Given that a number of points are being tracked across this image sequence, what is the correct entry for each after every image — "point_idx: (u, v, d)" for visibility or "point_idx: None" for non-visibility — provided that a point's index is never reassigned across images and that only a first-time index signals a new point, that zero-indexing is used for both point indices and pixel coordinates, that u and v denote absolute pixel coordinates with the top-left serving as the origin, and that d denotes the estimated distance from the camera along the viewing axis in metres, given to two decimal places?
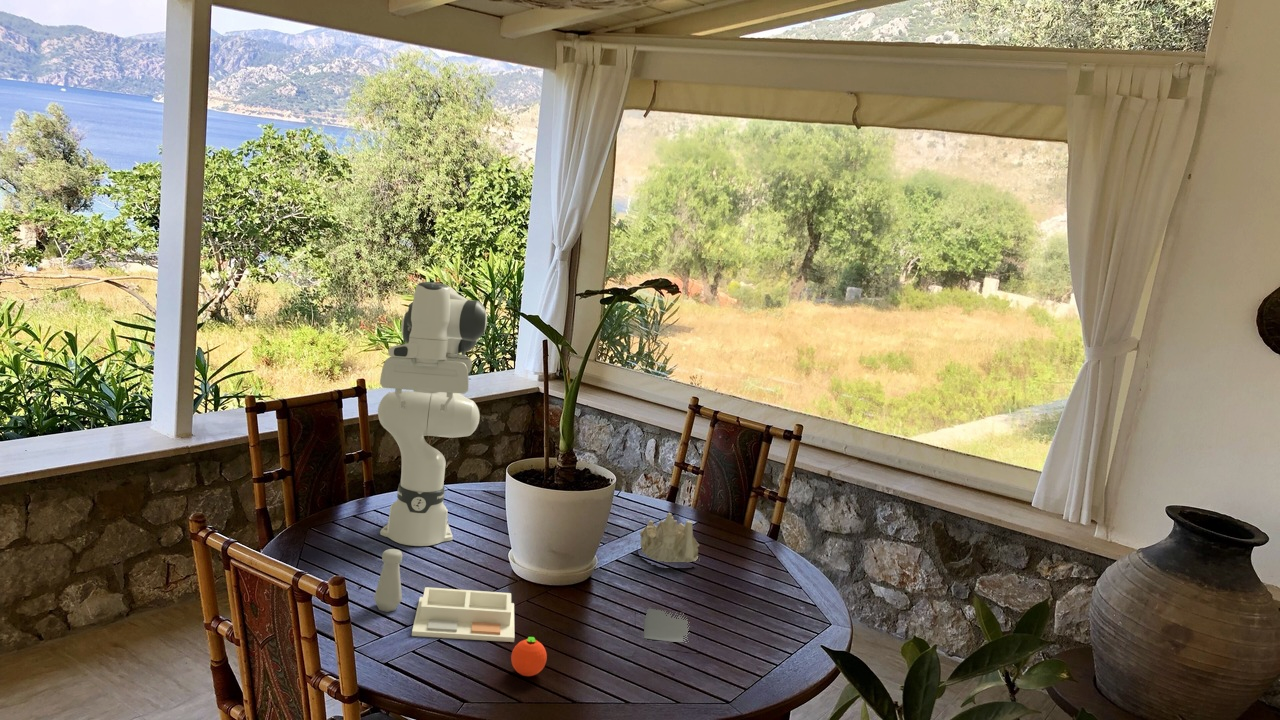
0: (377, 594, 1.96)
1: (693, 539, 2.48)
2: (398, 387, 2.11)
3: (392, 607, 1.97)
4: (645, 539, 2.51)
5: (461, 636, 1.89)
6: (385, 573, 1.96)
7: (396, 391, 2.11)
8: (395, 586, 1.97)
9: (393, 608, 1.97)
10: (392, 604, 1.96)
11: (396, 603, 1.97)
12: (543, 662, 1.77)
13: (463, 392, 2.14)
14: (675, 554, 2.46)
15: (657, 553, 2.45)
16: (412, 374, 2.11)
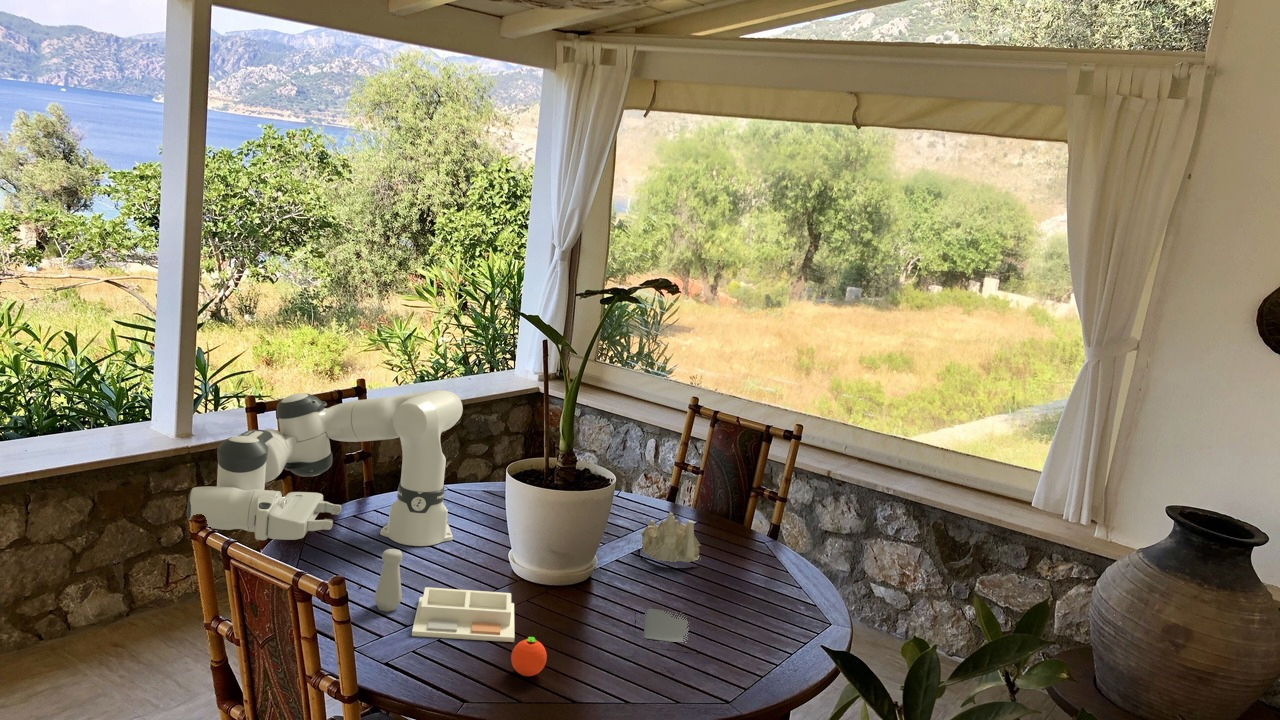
0: (377, 594, 1.96)
1: (694, 539, 2.49)
2: (306, 516, 1.87)
3: (392, 607, 1.97)
4: (646, 539, 2.51)
5: (461, 636, 1.89)
6: (385, 573, 1.96)
7: (311, 520, 1.87)
8: (395, 586, 1.97)
9: (393, 608, 1.97)
10: (392, 604, 1.96)
11: (396, 603, 1.97)
12: (543, 662, 1.77)
13: (321, 494, 2.02)
14: (676, 553, 2.46)
15: (658, 553, 2.45)
16: (293, 510, 1.90)
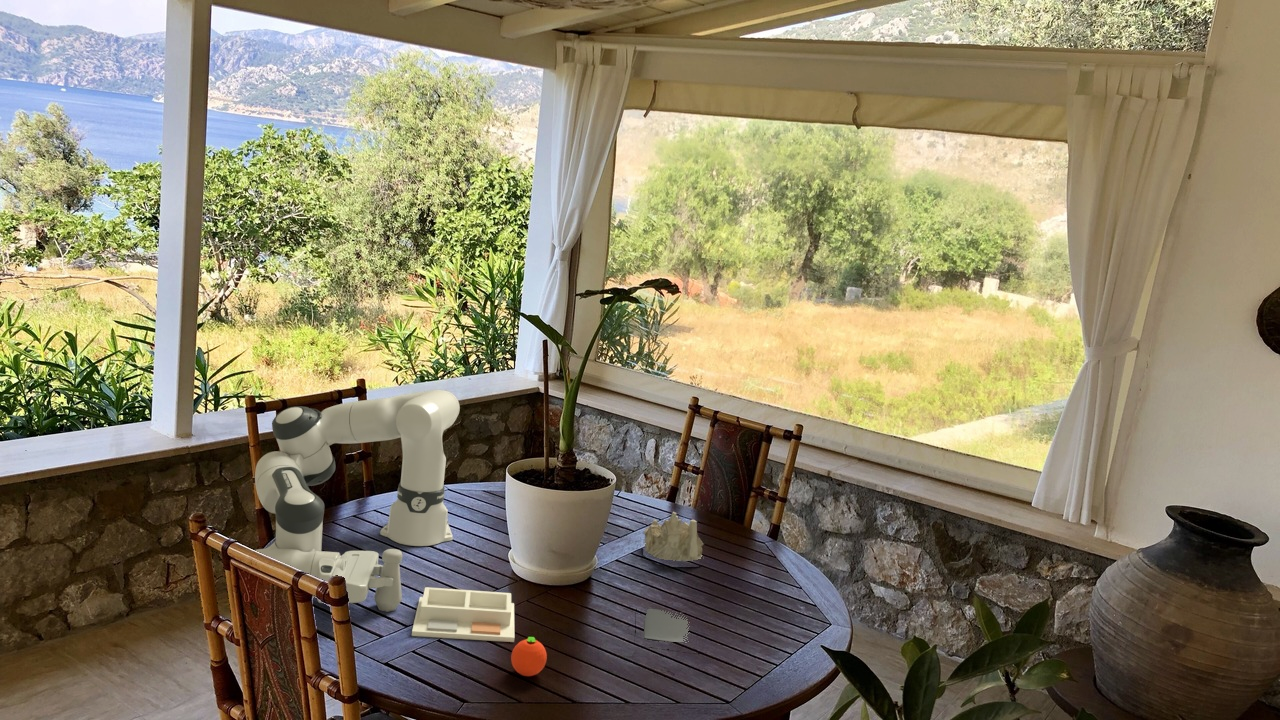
0: (377, 594, 1.96)
1: (697, 538, 2.50)
2: (367, 578, 1.91)
3: (392, 607, 1.97)
4: (649, 538, 2.52)
5: (461, 636, 1.89)
6: (385, 573, 1.96)
7: (373, 578, 1.94)
8: (395, 586, 1.97)
9: (393, 608, 1.97)
10: (392, 604, 1.96)
11: (396, 603, 1.97)
12: (543, 662, 1.77)
13: (377, 553, 2.06)
14: (679, 553, 2.47)
15: (662, 552, 2.46)
16: (353, 572, 1.94)
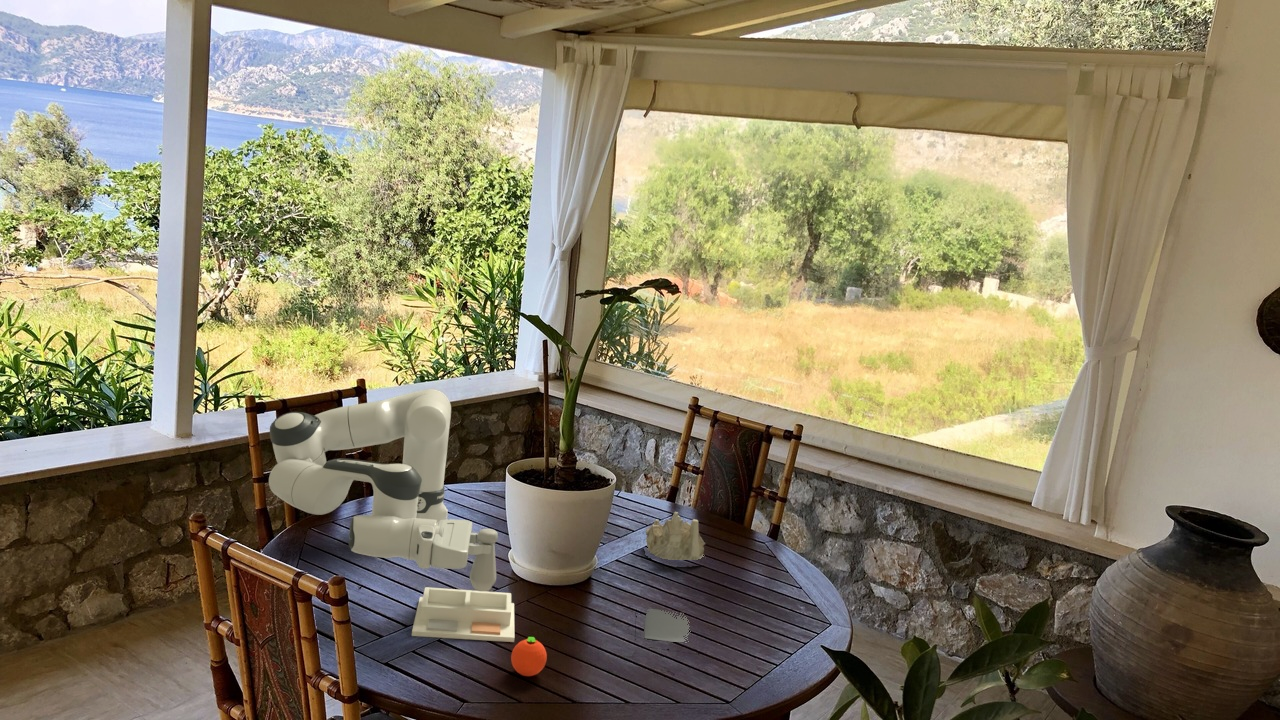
0: (472, 573, 1.96)
1: (699, 537, 2.50)
2: (467, 545, 1.91)
3: (486, 586, 1.96)
4: (651, 538, 2.52)
5: (461, 636, 1.89)
6: None
7: (472, 545, 1.93)
8: (490, 566, 1.96)
9: (487, 588, 1.97)
10: (486, 584, 1.96)
11: (490, 583, 1.97)
12: (543, 662, 1.77)
13: None
14: (681, 552, 2.48)
15: (664, 552, 2.47)
16: (452, 539, 1.93)
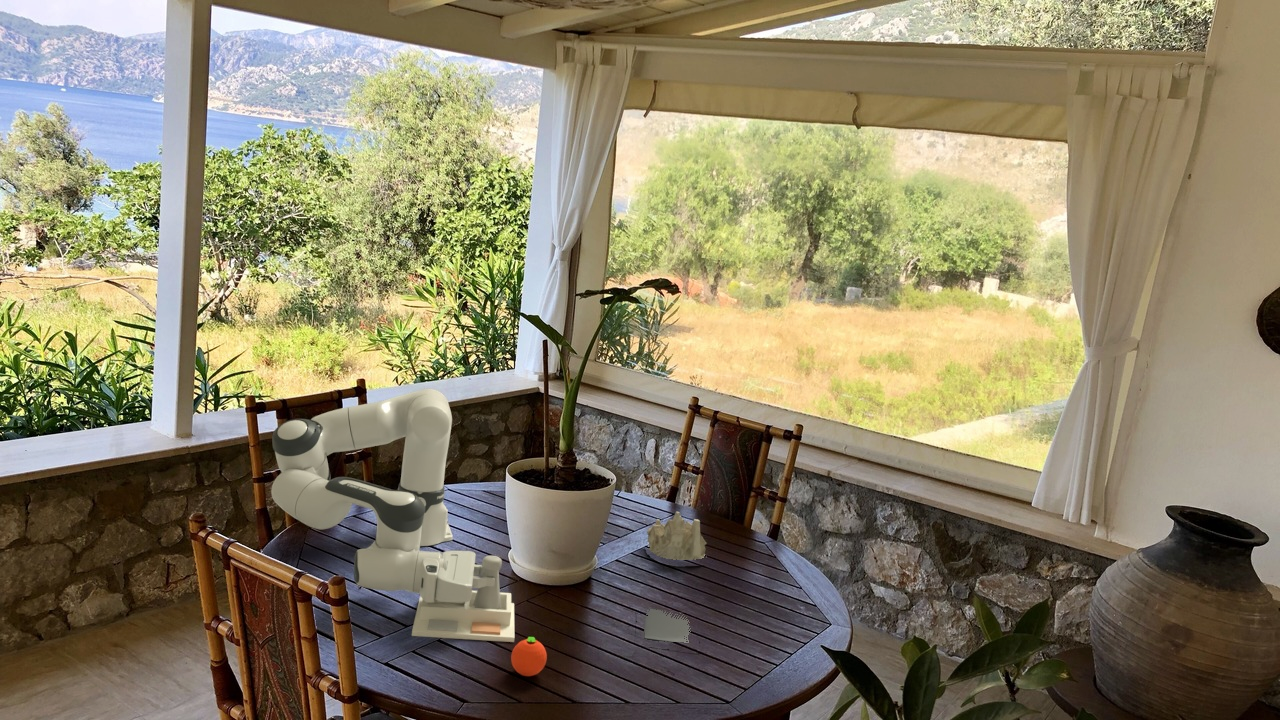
0: (476, 600, 1.98)
1: (700, 537, 2.50)
2: (471, 578, 1.92)
3: None
4: (653, 538, 2.53)
5: (461, 636, 1.89)
6: None
7: (476, 578, 1.95)
8: (494, 593, 1.98)
9: None
10: None
11: None
12: (543, 662, 1.77)
13: (474, 553, 2.07)
14: (682, 552, 2.48)
15: (665, 551, 2.47)
16: (456, 572, 1.95)
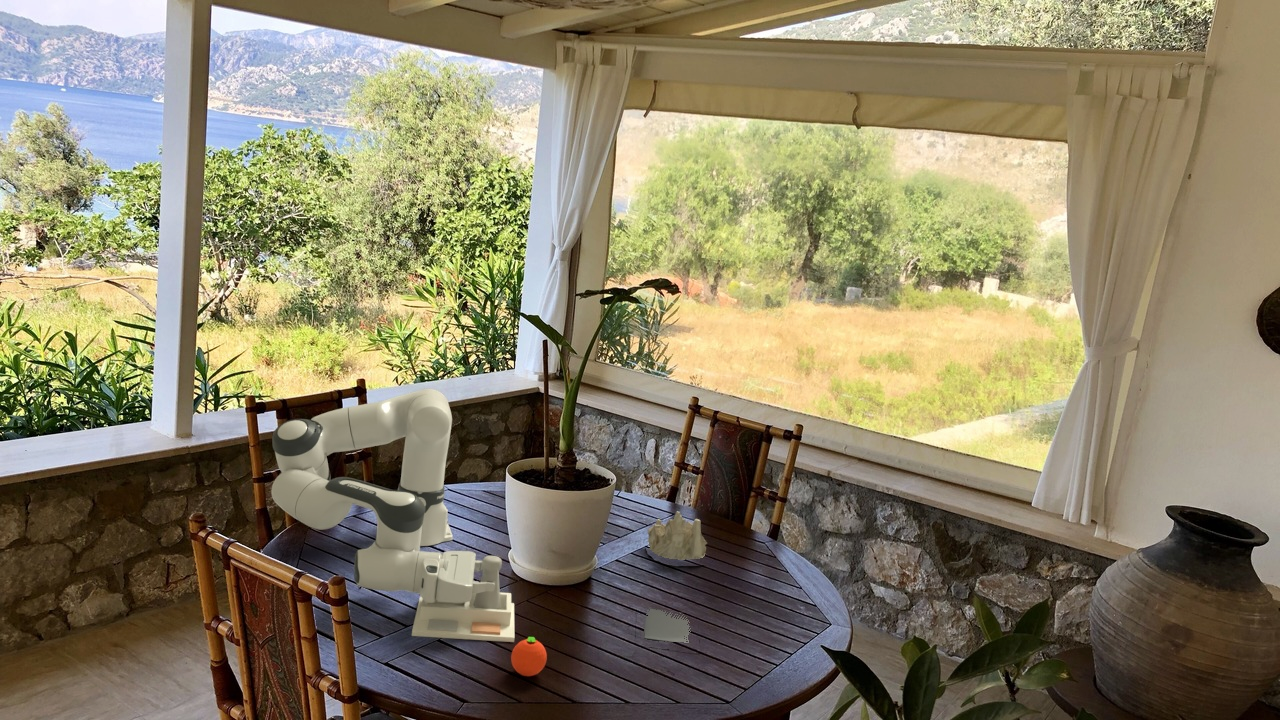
0: (476, 600, 1.98)
1: (701, 537, 2.51)
2: (471, 579, 1.92)
3: None
4: (653, 537, 2.53)
5: (461, 636, 1.89)
6: (485, 580, 1.97)
7: (476, 583, 1.92)
8: (494, 593, 1.98)
9: None
10: None
11: None
12: (543, 662, 1.77)
13: (474, 553, 2.07)
14: (683, 552, 2.48)
15: (666, 551, 2.47)
16: (456, 572, 1.95)
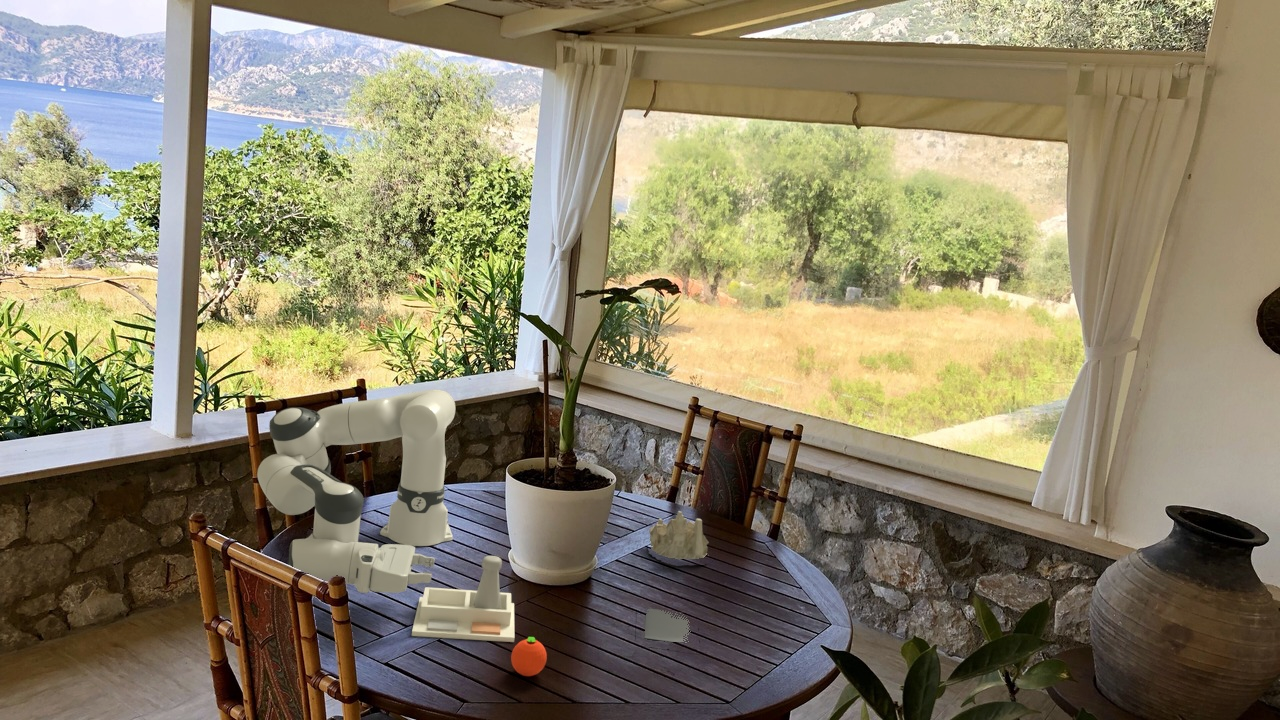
0: (476, 600, 1.98)
1: (702, 536, 2.51)
2: (407, 569, 1.90)
3: None
4: (655, 537, 2.53)
5: (461, 636, 1.89)
6: (485, 580, 1.97)
7: (411, 573, 1.90)
8: (494, 593, 1.98)
9: None
10: None
11: None
12: (543, 662, 1.77)
13: (413, 546, 2.05)
14: (685, 551, 2.49)
15: (668, 551, 2.48)
16: (393, 563, 1.92)
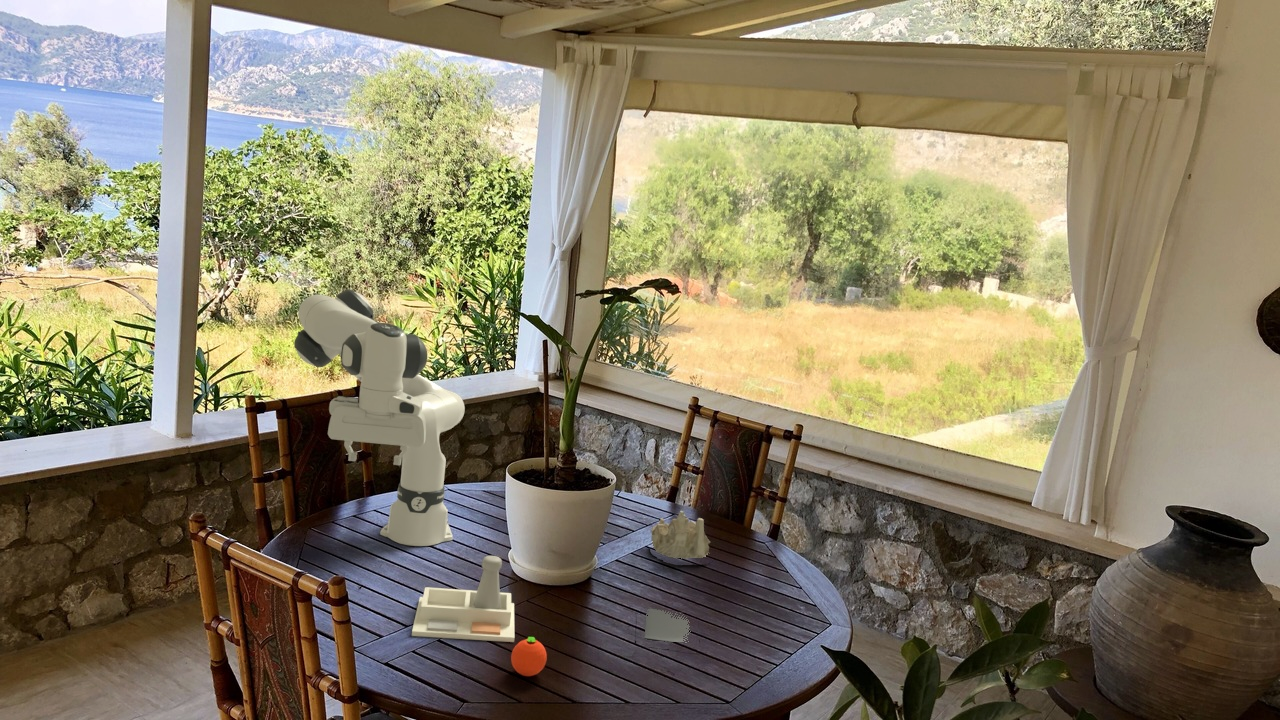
0: (476, 600, 1.98)
1: (704, 536, 2.52)
2: None
3: None
4: (656, 537, 2.54)
5: (461, 636, 1.89)
6: (485, 580, 1.97)
7: None
8: (494, 593, 1.98)
9: None
10: None
11: None
12: (543, 662, 1.77)
13: None
14: (686, 551, 2.49)
15: (669, 550, 2.48)
16: None
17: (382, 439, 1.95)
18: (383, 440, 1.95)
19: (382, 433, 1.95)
